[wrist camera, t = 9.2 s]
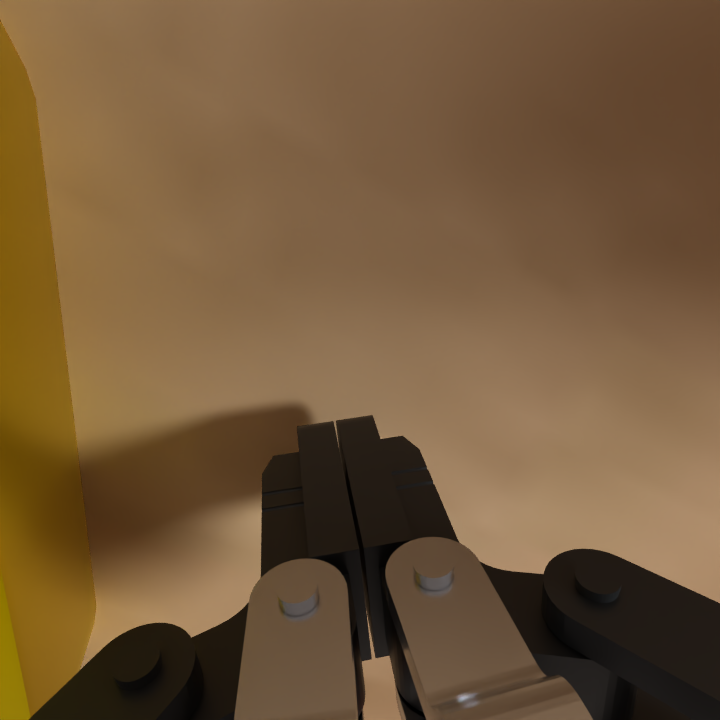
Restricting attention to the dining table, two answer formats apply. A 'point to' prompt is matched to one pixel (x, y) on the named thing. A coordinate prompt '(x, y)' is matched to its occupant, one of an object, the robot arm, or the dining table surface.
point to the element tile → (35, 430)
